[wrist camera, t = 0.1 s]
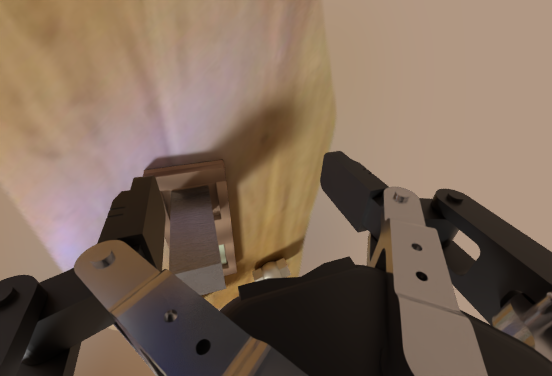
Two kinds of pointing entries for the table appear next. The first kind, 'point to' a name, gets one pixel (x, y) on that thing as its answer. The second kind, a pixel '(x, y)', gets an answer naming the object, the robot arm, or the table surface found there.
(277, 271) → the valve
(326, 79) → the table surface
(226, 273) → the tray
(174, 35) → the table surface
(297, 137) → the table surface
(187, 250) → the metal block
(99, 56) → the table surface
